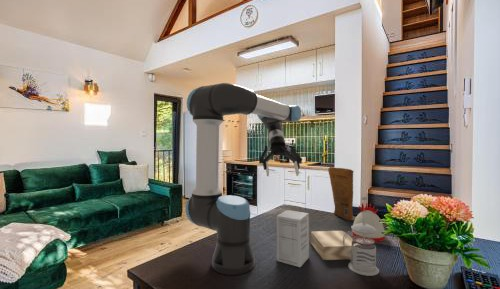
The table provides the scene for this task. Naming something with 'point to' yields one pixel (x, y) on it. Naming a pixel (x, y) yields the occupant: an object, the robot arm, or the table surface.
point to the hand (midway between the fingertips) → (283, 174)
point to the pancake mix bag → (342, 191)
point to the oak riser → (332, 244)
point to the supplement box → (293, 237)
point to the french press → (363, 250)
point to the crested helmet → (369, 223)
